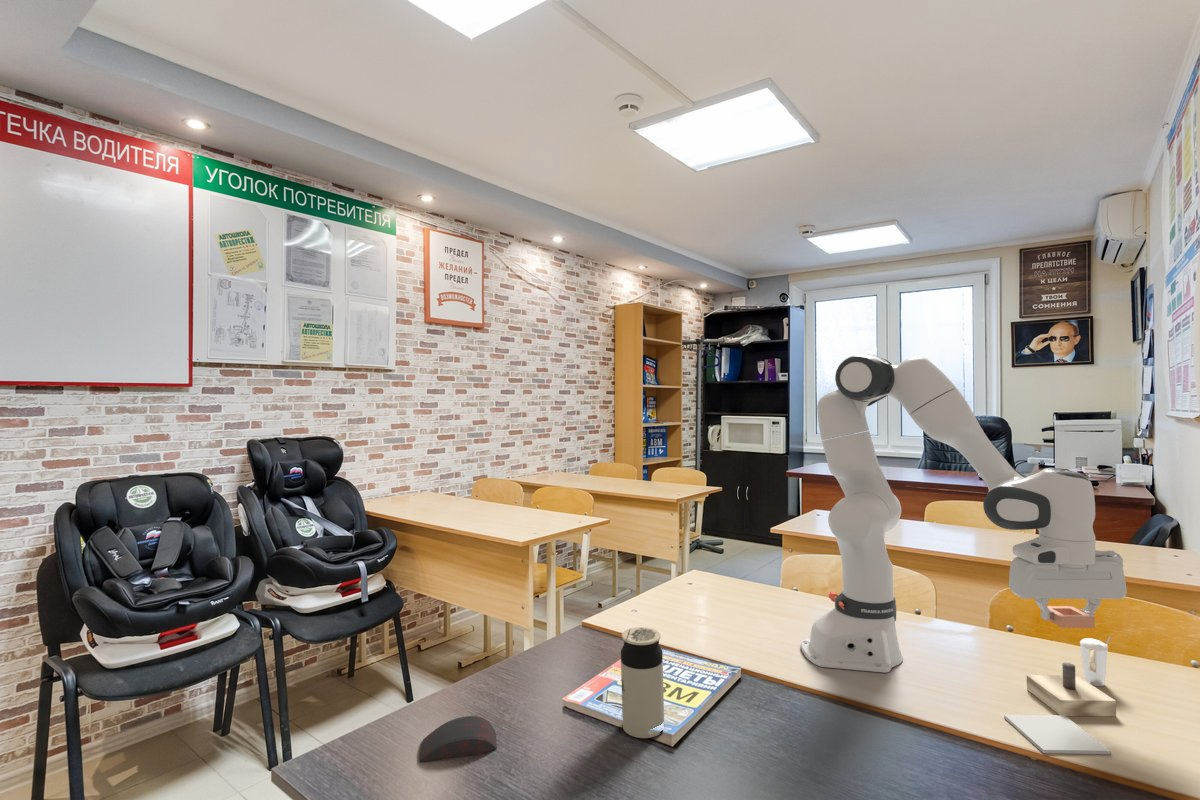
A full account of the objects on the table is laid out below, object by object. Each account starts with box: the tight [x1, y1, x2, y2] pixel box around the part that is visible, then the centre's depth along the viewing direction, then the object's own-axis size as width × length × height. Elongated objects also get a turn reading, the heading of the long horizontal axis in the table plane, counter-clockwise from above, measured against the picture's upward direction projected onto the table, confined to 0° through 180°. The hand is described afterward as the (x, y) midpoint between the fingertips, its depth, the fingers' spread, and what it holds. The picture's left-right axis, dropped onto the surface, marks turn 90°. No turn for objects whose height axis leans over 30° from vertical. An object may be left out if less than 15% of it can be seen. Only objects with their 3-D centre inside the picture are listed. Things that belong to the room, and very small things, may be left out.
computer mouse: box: [418, 715, 498, 764], centre depth 108 cm, size 8×14×4 cm, turn 102°
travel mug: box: [620, 626, 665, 739], centre depth 112 cm, size 8×8×18 cm
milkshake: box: [1079, 636, 1111, 687], centre depth 124 cm, size 4×5×10 cm
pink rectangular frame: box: [1047, 605, 1096, 629], centre depth 117 cm, size 6×6×2 cm
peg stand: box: [1026, 662, 1117, 717], centre depth 117 cm, size 10×10×8 cm
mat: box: [1003, 714, 1112, 755], centre depth 106 cm, size 11×11×1 cm
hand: (1067, 619), depth 117 cm, fingers closed on pink rectangular frame, 6 cm apart
